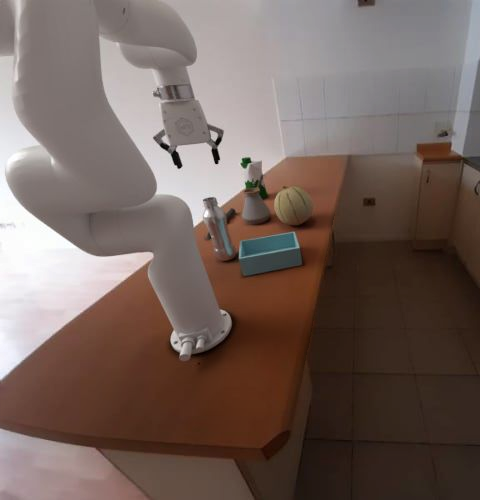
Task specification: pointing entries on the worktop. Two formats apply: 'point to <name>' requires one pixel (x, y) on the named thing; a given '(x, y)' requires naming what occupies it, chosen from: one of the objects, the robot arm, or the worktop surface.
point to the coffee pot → (255, 206)
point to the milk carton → (253, 175)
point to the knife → (228, 216)
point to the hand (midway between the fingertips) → (198, 165)
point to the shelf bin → (269, 253)
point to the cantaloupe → (293, 205)
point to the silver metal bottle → (218, 230)
